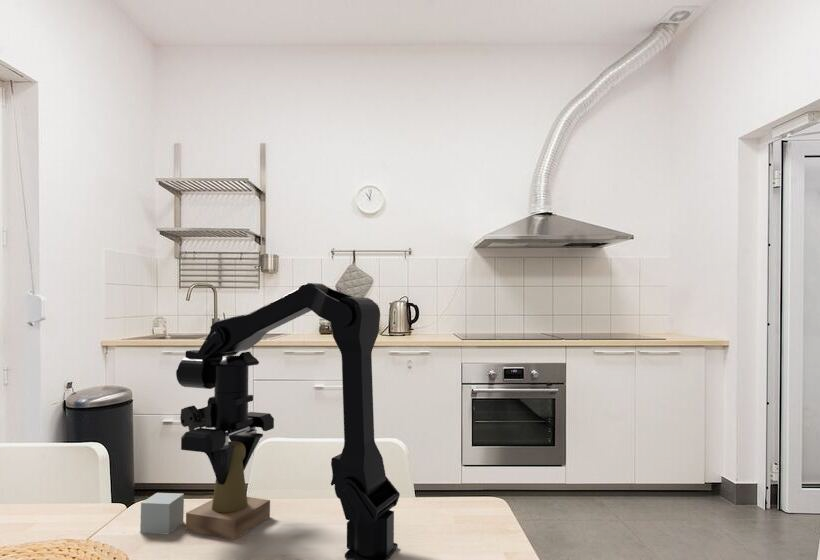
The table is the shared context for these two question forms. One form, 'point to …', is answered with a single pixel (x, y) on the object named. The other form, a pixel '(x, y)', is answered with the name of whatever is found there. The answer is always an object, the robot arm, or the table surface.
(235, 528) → the walnut block
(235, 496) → the olive game pawn
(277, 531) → the table surface
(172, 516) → the slate cube
